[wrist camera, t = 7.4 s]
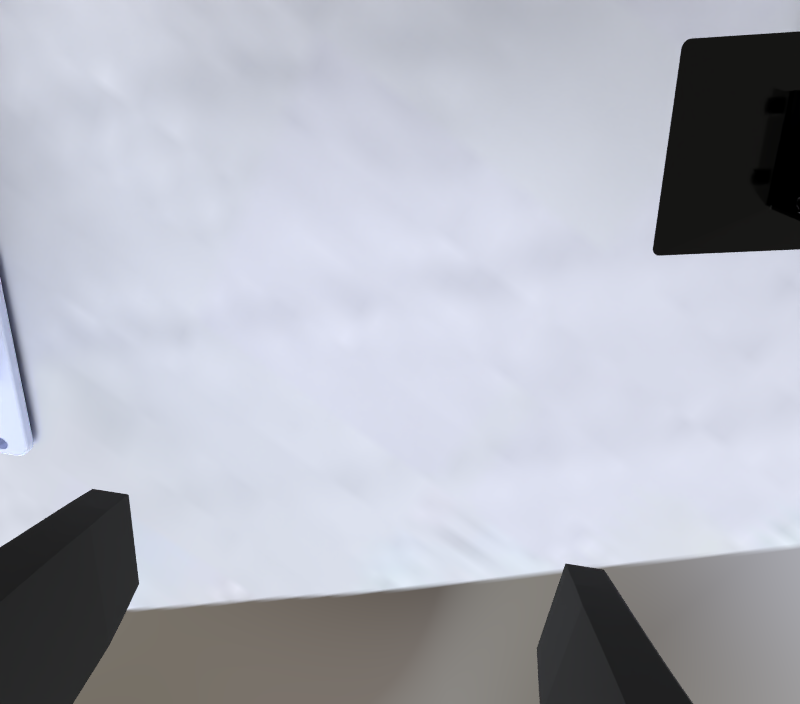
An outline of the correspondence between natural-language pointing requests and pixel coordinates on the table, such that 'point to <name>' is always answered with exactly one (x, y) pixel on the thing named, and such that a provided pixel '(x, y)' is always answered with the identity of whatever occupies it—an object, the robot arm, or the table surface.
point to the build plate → (733, 148)
